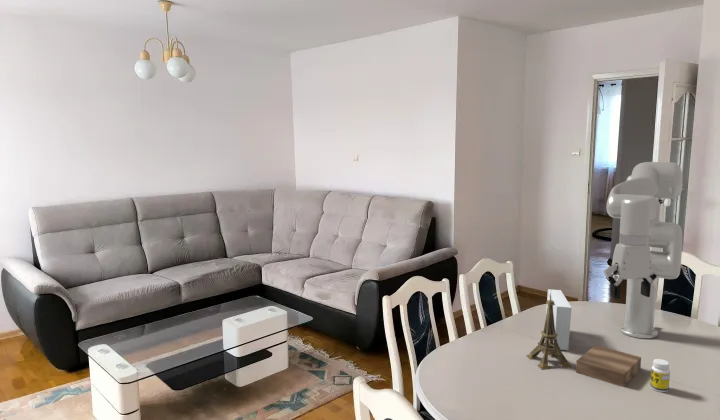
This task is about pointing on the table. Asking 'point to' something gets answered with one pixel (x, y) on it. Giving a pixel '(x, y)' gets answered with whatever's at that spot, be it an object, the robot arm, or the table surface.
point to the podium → (608, 365)
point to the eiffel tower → (548, 341)
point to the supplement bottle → (660, 375)
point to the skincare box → (561, 317)
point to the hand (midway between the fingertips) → (630, 296)
